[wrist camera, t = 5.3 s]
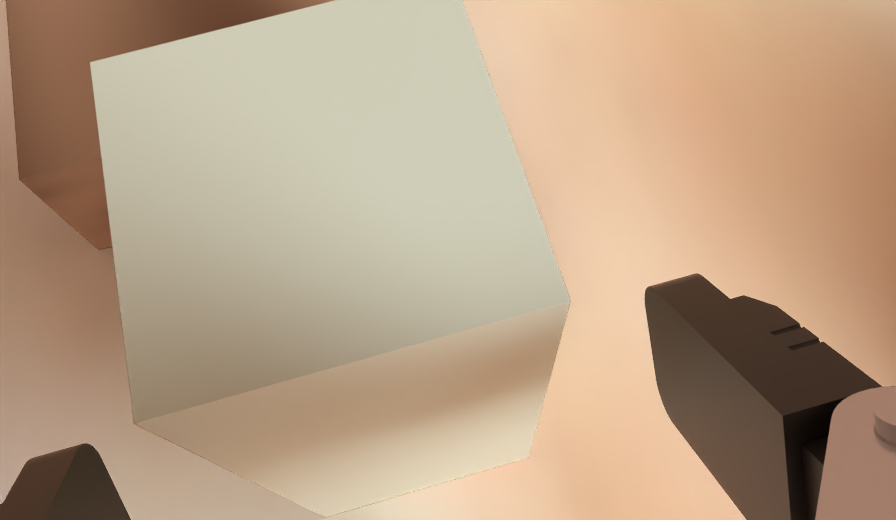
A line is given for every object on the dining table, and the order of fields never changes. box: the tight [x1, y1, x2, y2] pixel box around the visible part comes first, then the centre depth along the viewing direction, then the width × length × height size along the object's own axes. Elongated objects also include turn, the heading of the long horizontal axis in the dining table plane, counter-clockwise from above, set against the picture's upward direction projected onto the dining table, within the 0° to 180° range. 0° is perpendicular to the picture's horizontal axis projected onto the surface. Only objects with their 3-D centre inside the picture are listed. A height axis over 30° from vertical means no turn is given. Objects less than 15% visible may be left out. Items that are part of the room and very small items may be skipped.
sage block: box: [90, 0, 571, 517], centre depth 15 cm, size 5×5×11 cm
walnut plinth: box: [6, 0, 335, 250], centre depth 22 cm, size 10×10×4 cm
